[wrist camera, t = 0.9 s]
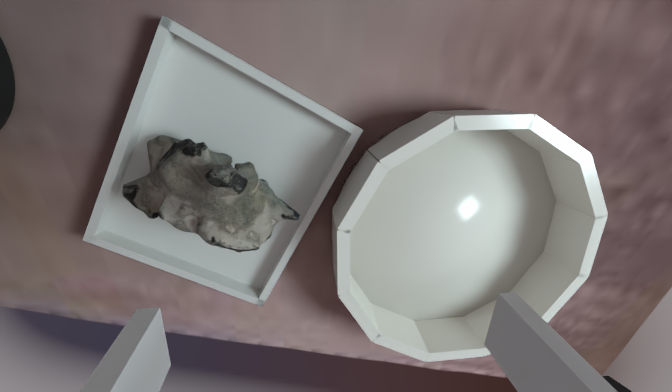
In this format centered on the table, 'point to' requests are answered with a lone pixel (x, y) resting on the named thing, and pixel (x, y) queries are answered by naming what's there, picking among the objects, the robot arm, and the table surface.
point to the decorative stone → (207, 195)
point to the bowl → (463, 228)
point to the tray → (221, 137)
